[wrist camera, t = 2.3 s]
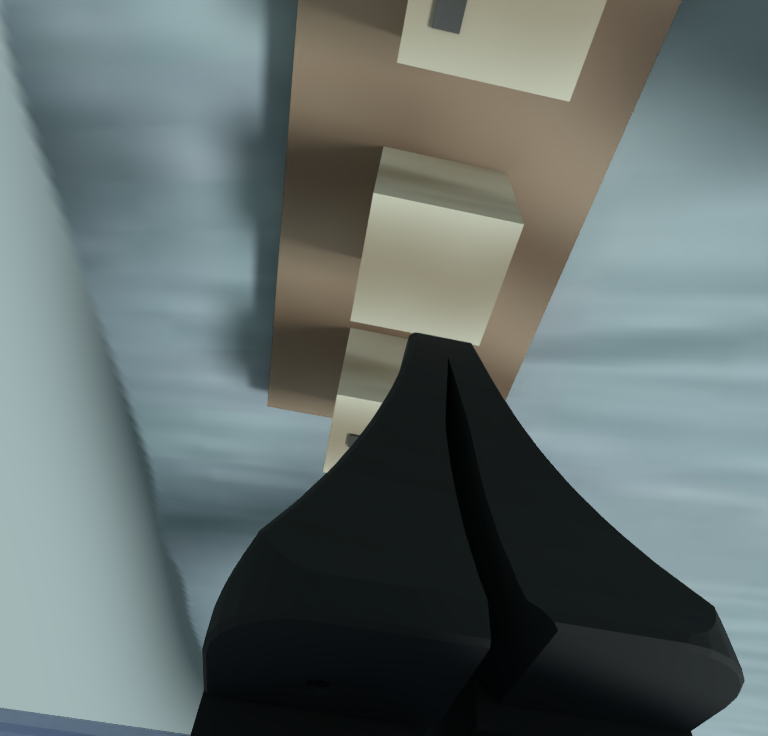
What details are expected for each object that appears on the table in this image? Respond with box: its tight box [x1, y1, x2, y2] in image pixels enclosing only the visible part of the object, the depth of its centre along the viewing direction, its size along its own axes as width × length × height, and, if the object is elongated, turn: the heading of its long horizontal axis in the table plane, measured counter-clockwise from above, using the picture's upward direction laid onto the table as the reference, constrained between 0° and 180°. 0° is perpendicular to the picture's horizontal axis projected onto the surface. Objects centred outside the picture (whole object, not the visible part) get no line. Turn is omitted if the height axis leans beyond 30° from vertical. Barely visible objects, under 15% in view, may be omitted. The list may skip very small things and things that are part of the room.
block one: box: [323, 328, 408, 473], centre depth 21 cm, size 4×4×4 cm
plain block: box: [350, 147, 524, 346], centre depth 17 cm, size 4×4×4 cm
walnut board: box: [267, 0, 682, 418], centre depth 19 cm, size 20×10×1 cm, turn 169°
